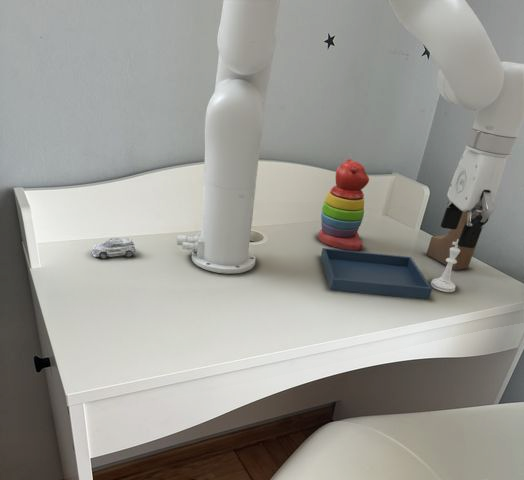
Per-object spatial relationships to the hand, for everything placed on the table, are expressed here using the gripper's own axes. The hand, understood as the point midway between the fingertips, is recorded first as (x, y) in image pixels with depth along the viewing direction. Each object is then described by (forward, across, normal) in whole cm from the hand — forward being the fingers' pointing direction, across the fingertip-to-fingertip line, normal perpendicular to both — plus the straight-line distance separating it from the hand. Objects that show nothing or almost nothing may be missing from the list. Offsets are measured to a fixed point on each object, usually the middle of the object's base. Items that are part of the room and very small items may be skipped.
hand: (456, 237), depth 99 cm
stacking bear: (+11, -20, -18) cm, 29 cm away
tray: (+11, -1, -14) cm, 17 cm away
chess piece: (+11, 0, +1) cm, 11 cm away
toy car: (+12, 0, -65) cm, 66 cm away
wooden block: (+10, -14, +6) cm, 19 cm away
